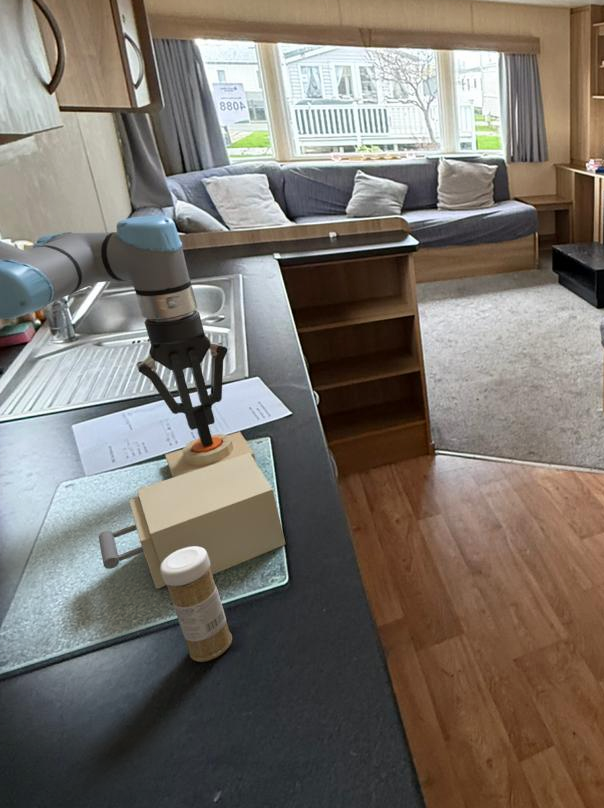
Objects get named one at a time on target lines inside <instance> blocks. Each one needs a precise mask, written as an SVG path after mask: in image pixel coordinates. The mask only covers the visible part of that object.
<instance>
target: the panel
mask: <svg viewBox="0 0 604 808" xmlns="http://www.w3.org/2000/svg"><path fill="white" fill-rule="evenodd" d="M211 437H218V438H220V439H221V442H222V445H221V446H220V447H218V448H216V449H215V450H212V451H208V452H203V453H195V452H193V449H192V446H193V444H194V443H196V442H197V441H199V440H200V437H197V438H195V439H194V440H192V441H190V442H188V443H186V444H185V446H184V447H183V448H182V449H178V450H175V451H172V452H169V453H166V454H164V457H165V459H166V460H165V461H166V463H167V467H168V469H169V471H170V474H171V476H172V478H173V477H177V476H180V475H183V474H186V473H189V472H192V471H195V470H198V469H201V468H204V467H207V466H210V465H213V464H216V463H219V462H222V461H226V460H229V459H232V458H235V457H238V456H241V455H244V454H247V453H250V454H251V456H252V458H253V459H254V461H255V462H256V464H257V465H258V463H257V460H256V455H255V453H254V451H253V449H252V448H251V446H250V444H248V442H247V440H246V438H245V437H244V436H243V434H242V432H241V431H237V432H234V433H231V434H228V435H227V434H222V433H216V434H211Z"/></svg>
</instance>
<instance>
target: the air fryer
mask: <svg viewBox="0 0 604 808" xmlns="http://www.w3.org/2000/svg"><path fill="white" fill-rule="evenodd" d="M256 463H257V461H256V462H255V461H254V459H253V458H252V456H251V454H250V453H247V454H244V455H241V456H238V457H235V458H232V459H229V460H226V461H222V462H219V463H216V464H213V465H210V466H207V467H204V468H201V469H198V470H195V471H192V472H189V473H186V474H183V475H180V476H177V477H173V476H172V477H170V478H168V479H164V480H161V481H158V482H155V483H152V484H149V485H146V486H143V487H141V488H137V489H136V492H137V495H138V497H139V499H140V502H141V505H142V509H143V512H144V515H145V519H146V522H147V525H148V529H149V532H150V535H151V538H152V541H153V544H154V547H155V550H156V553H157V556H158V559H159V562H160V565H161V564H162V562H163V561H164V559H165V558H167V557H168V556H169V555H170V554H172V553H174V552H176V551H178V550H180V549H183V548H186V547H193V546H198V547H202V548H204V549H205V550H206V552H207V554H208V557H209V560H210V570H211V573H212V576H213V575H215V574H218V573H220V572H223V571H225V570H229V569H230V568H233V567H235V566H237V565H239V564H242V563H244V562H247V561H249V560H252V559H254V558H256V557H259V556H261V555H263V554H266V553H268V552H271V551H273V550H275V549H278V548H281V547H283V546H286V540H285V535H284V532H283V527H282V523H281V519H280V514H279V509H278V507H277V500H276V497H275V493H274V489H273V488H272V486H271V485H270V482H269V481H268V479H267V478H266V476H265V475H264V473H263V471H262V470H261V468H260V467H259V466H258V463H257V464H256ZM166 587H167V589H168V586H167V585H166ZM167 591H169V589H168V590H167Z"/></svg>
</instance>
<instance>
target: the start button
mask: <svg viewBox="0 0 604 808" xmlns="http://www.w3.org/2000/svg"><path fill="white" fill-rule="evenodd" d="M212 441H213V444H211V445H208V446H205V447H204V446H203V444H202V443H201V441H200V440H199V441H197V442H196V443H194V444H193V446H192V449H193V452H195V453H203V452H208V451H212V450H215V449H216V448H218V447H220V446H221V445H222V442H221V439H220V438H218V437H212Z"/></svg>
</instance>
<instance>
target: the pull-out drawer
mask: <svg viewBox="0 0 604 808" xmlns="http://www.w3.org/2000/svg"><path fill="white" fill-rule="evenodd" d="M128 502H129V506H130V510H131V512H132V513H131V514H132V517H133V521H134V524H133V525H129V526H126V527H124V528H121V529H118V530H116V531H111V530H103V531H102V532H101V533H99V535H98V542H99V547H100V553H101V558H102V563H103V564H102V565H103V567H104V568H105V569H106V570H107V569H108V570H111V569H115V568H116V567H118V566H119V564H120V562H122V561H124V560H126V559H129V558H133V557H135V556H137V555H140V554H144V558H145V560H146V563H147V566H148V569H149V572H150V575H151V578H152V580H153V581H152V582H153V583H154V586H155V589H157V590H158V589H160V588H162V587H165V586H167V585H166V583H165V582H164V580H163V577H162V574H161V571H160V566H161V565H160V562H159V559H158V556H157V553H156V550H155V547H154V544H153V541H152V538H151V535H150V532H149V529H148V525H147V522H146V519H145V515H144V512H143V509H142V505H141V502H140V499H139V496H138V497H134V498H132V499H129V500H128ZM135 531H136V532H137V535H138V538H139V542H140V545H141V546H140V547H137V548H134V549H132V550H129V551H126V552H124V553H120V554H119V553H118V549H117V546H116V545H117V544H116V540H115V538H118V537H120V536H123V535H126V534H129V533H133V532H135Z"/></svg>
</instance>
